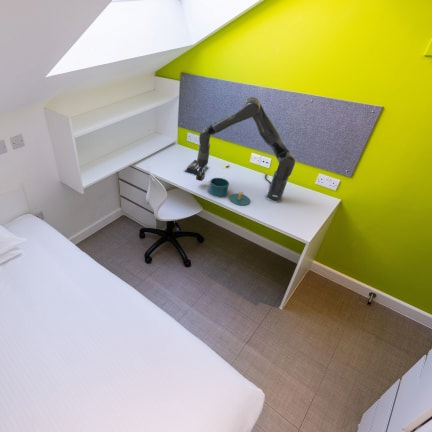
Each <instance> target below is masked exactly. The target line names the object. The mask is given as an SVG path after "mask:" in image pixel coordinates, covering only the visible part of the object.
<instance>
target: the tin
mask: <svg viewBox="0 0 432 432" xmlns="http://www.w3.org/2000/svg"><path fill="white" fill-rule="evenodd" d="M229 186H230V181H229V180H227V179H225V178H223V177H213V178H211V179H210V181H209V187H208V193H209V195H211V196H213V197H215V198H223V197H226V196H227V195H228V190H229Z"/></svg>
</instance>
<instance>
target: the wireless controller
mask: <svg viewBox="0 0 432 432" xmlns="http://www.w3.org/2000/svg"><path fill="white" fill-rule="evenodd" d="M198 166H199V164H198V163H197V159H194V160H193V161H192V162H191V163H190V164H189V165H188V166H187V167H186V169H185V170H184V172H185V173H189V174H192V175H195V176H196V169H198ZM208 169H209V167H206V171H207V170H208ZM200 172H201V171H200Z"/></svg>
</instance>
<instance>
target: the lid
mask: <svg viewBox="0 0 432 432" xmlns="http://www.w3.org/2000/svg"><path fill="white" fill-rule="evenodd" d="M228 199H229V202H231V203H232V204H234V205H236V206H240V207H241V206H248V205H249V204H250V203H251V199H250V198H249V196H247V195H245V194H244V192H243V191H239V193H232V194H230V195H229V196H228Z"/></svg>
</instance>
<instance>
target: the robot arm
mask: <svg viewBox="0 0 432 432" xmlns="http://www.w3.org/2000/svg"><path fill="white" fill-rule="evenodd" d="M250 119H253V121H254V123H255V125H256V128H257V131H258V134H259V136H260V137H261V139H262V141H263V142H264V143H265V145H266V146H267V147H268V148H269V149H271V150H272V152H273V154H274V156H275V158H276V160H277V163H278V165H277V169H276V170H274V171H273V174H272V175H273V176H272V179H271V181H270V180H269V179H268V178H267V176H268V175H267V174H266V173H265V175H264V179H265V180H266V181H267V183H269V184H270V185H269V188H268V192H267V194H266V198H267V200H269V201H272V202H277V203H278V202H281V201H282V197H283V194H284V191H285V189H286V186H287V184H288V180H289V178H290V176H291V175H292V172H293V171H294V168H295V165H296V159H295V157H294V155H293V153H292V152H291V151H290V150H289V149H288V148H287V146H286V145H285V143H284V141H283V138H282V137H281V134H280V132H279V131H278V129H277V128H276V126H275V125H274V123H273V122H272V121H271V119H270V118H269V116H268V115H267V114H266V112H265V110H264V107H263V105H262V103H261V101H260V99H259V98H257V97H255V96H249V97H247V98H246V99H245V101H244V103H243V107H242V108H241V109H239V110H238V111H236V112H235V113H233V114H229V115H227V116H224V117H222V118H220V119H218V120H216V121H214V122H213V123H211V124H209V125H207V126H205V127H203V129H201V131H200V133H199V137H198V140H199V142H198V143H199V146H198V152H197V157H196V158H197V159H196V160H197V163H198V164H199V166H198V169H196V175H195V177H196V176H198V177H197V180H196V181H198V182H201V181H200V179H201V173H202V172H204V173H206V172H207V170H206V169H207V168H208V167H207V166H208V164H209V157H210V148H211V144H210V140H211V137H212V136H215V135H216V134H219V133H222V132H223V131H225V130H227V129H228V128H230V127H232V126H234V125H236V124H239V123H241V122H244V121H246V120H250ZM206 167H207V168H206ZM200 171H201V172H200Z"/></svg>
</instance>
